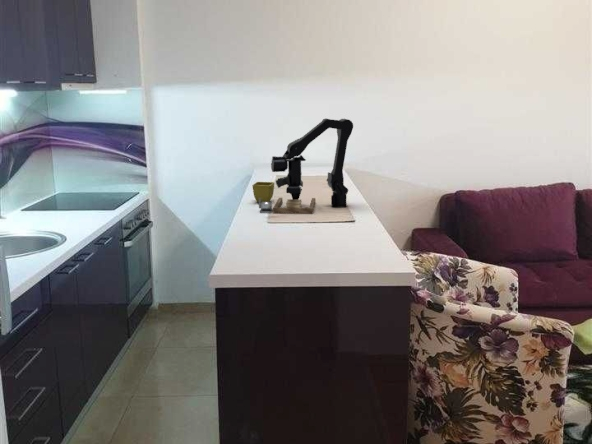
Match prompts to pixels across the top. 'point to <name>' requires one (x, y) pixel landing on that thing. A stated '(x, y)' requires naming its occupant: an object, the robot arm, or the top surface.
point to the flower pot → (263, 191)
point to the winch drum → (265, 206)
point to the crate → (293, 203)
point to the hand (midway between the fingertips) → (295, 205)
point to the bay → (293, 210)
